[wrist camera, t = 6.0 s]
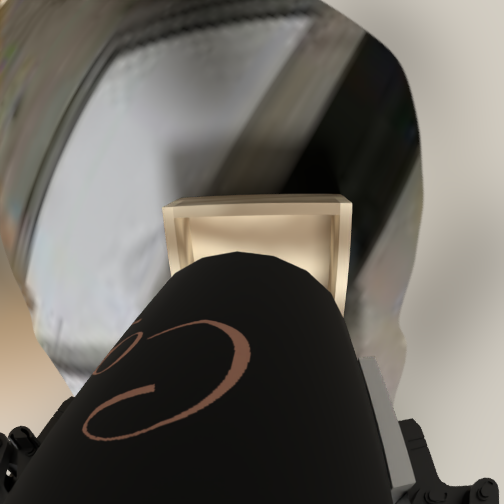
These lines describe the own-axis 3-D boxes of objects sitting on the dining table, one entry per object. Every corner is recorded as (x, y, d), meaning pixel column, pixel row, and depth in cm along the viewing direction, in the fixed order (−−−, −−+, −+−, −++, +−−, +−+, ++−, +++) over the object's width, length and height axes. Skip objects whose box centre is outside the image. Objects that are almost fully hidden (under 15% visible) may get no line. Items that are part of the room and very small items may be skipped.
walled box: (180, 197, 29) (162, 207, 24) (340, 194, 27) (352, 203, 22) (202, 355, 35) (192, 381, 31) (327, 357, 34) (332, 384, 29)
